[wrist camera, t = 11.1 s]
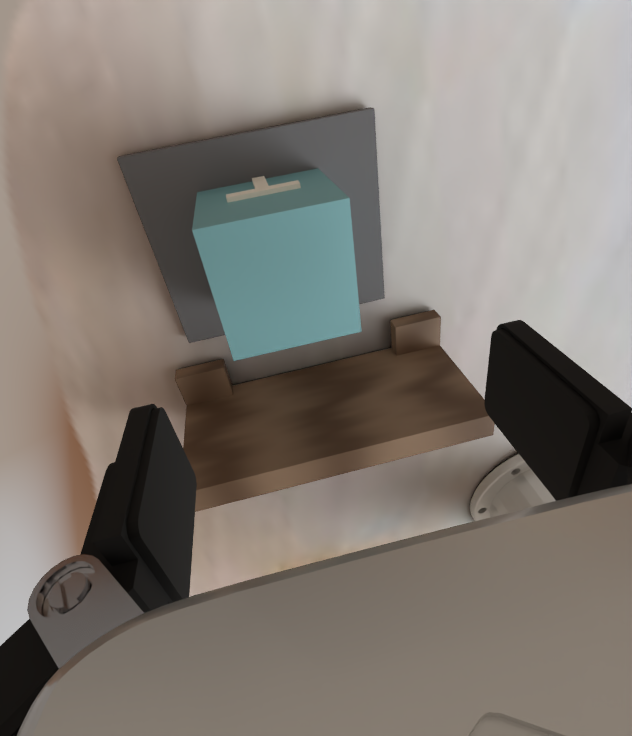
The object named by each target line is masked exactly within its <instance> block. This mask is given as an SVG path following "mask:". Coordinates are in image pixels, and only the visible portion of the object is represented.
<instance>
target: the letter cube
mask: <svg viewBox="0 0 632 736" xmlns="http://www.w3.org/2000/svg"><path fill="white" fill-rule="evenodd" d="M192 232H193V235H194V238H195V241H196V244H197V247H198V250H199V254H200V257H201V260H202V263H203V266H204V269H205V272H206V276H207V279H208V282H209V285H210V288H211V291H212V294H213V298H214V301H215V304H216V307H217V310H218V313H219V316H220V320H221V323H222V326H223V329H224V332H225V335H226V338H227V341H228V345H229V348H230V351H231V354H232V357H233V360H234V361H236V360H240V359H245V358H249V357H253V356H258V355H262V354H266V353H271V352H275V351H280V350H284V349H288V348H293V347H297V346H301V345H306V344H310V343H314V342H319V341H323V340H328V339H332V338H336V337H341V336H345V335H349V334H354V333H358V332H361V321H360V309H359V298H358V287H357V276H356V265H355V254H354V242H353V231H352V220H351V209H350V198H349V197H348V196H347V195H346V194H345V193H344V192H343V191H342V190H341V189H339V188H338V187H337V186H336V185H335V184H334V183H333V182H332V181H331V180H330V179H329V178H328V177H327V176H326V175H325V174H324V173H323V172H321V171H320V170H319V169H318V168H317V169H312V170H307V171H302V172H297V173H292V174H287V175H282V176H277V177H272V178H267V179H265V177H264V176H261V177H255V178H252V181H251V182H246V183H241V184H236V185H231V186H226V187H221V188H216V189H211V190H206V191H201V192H197V197H196V204H195V212H194V219H193V227H192Z"/></svg>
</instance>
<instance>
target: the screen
mask: <svg viewBox="0 0 632 736" xmlns="http://www.w3.org/2000/svg"><path fill="white" fill-rule="evenodd" d="M390 323H391V345H392V348H389V349H384V350H380V351H376V352H372V353H368V354H363V355H359V356H355V357H351V358H347V359H342V360H338V361H334V362H330V363H326V364H321V365H317V366H313V367H309V368H304V369H300V370H296V371H292V372H288V373H283V374H279V375H275V376H271V377H267V378H262V379H258V380H254V381H250V382H246V383H241V384H237V385H233V386H232V383H231V380H230V377H229V374H228V371H227V368H226V365H225V362H224V359H221V360H216V361H212V362H208V363H204V364H199V365H195V366H191V367H186V368H182V369H178V370H176V375H175V381H176V383H177V385H178V387H179V390H180V392H181V394H182V396H183V399H184V401H185V403H186V405H187V409H186V422H185V434H184V447H183V450H184V452H185V454H186V456H187V458H188V460H189V462H190V464H191V466H192V469H193V471H194V473H195V476H196V482H197V488H196V503H195V512H196V511H200V510H204V509H208V508H212V507H216V506H220V505H223V504H227V503H231V502H235V501H239V500H243V499H247V498H251V497H254V496H258V495H262V494H266V493H270V492H274V491H278V490H282V489H285V488H289V487H293V486H297V485H301V484H305V483H309V482H313V481H316V480H320V479H324V478H328V477H332V476H336V475H340V474H344V473H347V472H351V471H355V470H359V469H363V468H367V467H371V466H375V465H378V464H382V463H386V462H390V461H394V460H398V459H402V458H406V457H409V456H413V455H417V454H421V453H425V452H429V451H433V450H437V449H440V448H444V447H448V446H452V445H456V444H460V443H464V442H468V441H471V440H475V439H479V438H483V437H487V436H491V435H493V431H494V425H495V423H494V422H493V421H492V419H491V418H490V417H489V415H488V414H487V412H486V410H485V405H484V401H485V400H484V399H483V397H482V396H481V395H480V394H479V393H478V391H477V390H476V389H475V388H474V386H473V385H472V384H471V383H470V382H469V380H468V379H467V378H466V377H465V376H464V374H463V373H462V372H461V371H460V369H459V368H458V367H457V366H456V365H455V363H454V362H453V361H452V360H451V358H450V357H449V356H448V355H447V354H446V352H445V351H444V350H443V349H442V347H441V346H440V326H441V317H440V315H439V314H438V313H437V312H436V311H435V310H431V311H427V312H423V313H418V314H414V315H410V316H405V317H401V318H397V319H392V320H390Z"/></svg>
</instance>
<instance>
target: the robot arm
mask: <svg viewBox="0 0 632 736" xmlns="http://www.w3.org/2000/svg"><path fill="white" fill-rule="evenodd" d="M484 405H485V410H486V412H487V414H488V415H489V417H490V418H491V419H492V421H493V422H494V423H495V424H496V426H497V427H498V428H499V429H500V431H501V432H502V433H503V434H504V436H505V437H506V438H507V439H508V441H509V442H510V443H511V445H512V446H513V447H514V448H515V450H516V451H517V452H518V453H519V454H517V455H515V456H513V457H511V458H509V459H508V460H506V461H505V462H503V463H502V464H500V465H499V466H498V467H496V468H495V469H494V470H493V471H492V472H490V473H489V474H488V475H487V476H486V477H485V478H484V480H483V481H482V482H481V483H480V484H479V486H478V487H477V489H476V490H475V492H474V495H473V497H472V499H471V504H470V512H471V515H472V517H473V519H474V522H470V523H466V524H462V525H458V526H454V527H450V528H446V529H442V530H439V531H435V532H431V533H427V534H423V535H419V536H415V537H411V538H407V539H404V540H400V541H396V542H392V543H388V544H384V545H380V546H376V547H373V548H369V549H365V550H361V551H357V552H353V553H349V554H346V555H342V556H338V557H334V558H330V559H327V560H323V561H319V562H315V563H311V564H308V565H304V566H300V567H296V568H292V569H289V570H285V571H281V572H277V573H273V574H270V575H266V576H262V577H258V578H255V579H251V580H247V581H244V582H240V583H237V584H233V585H230V586H226V587H223V588H219V589H215V590H212V591H208V592H205V593H201V594H198V595H194V596H191V597H189V589H190V575H191V561H192V546H193V532H194V517H195V503H196V488H197V482H196V476H195V473H194V471H193V469H192V466H191V464H190V462H189V460H188V458H187V456H186V454H185V452H184V450H183V448H182V445H181V443H180V441H179V439H178V437H177V435H176V433H175V431H174V429H173V427H172V424H171V422H170V420H169V418H168V416H167V414H166V412H165V410H164V409H163V408H162V407H161V408H157V407H156V406H155V405H154V404H150V405H146V406H141V407H137V408H133V409H131V410H130V413H129V416H128V420H127V423H126V427H125V430H124V434H123V437H122V441H121V444H120V447H119V451H118V454H117V458H116V461H115V462H114V463H111V464H110V465H109V466H108V468H107V470H106V473H105V476H104V479H103V482H102V486H101V489H100V492H99V496H98V499H97V502H96V505H95V509H94V512H93V515H92V518H91V522H90V525H89V529H88V532H87V535H86V538H85V541H84V545H83V548H82V551H81V554H80V555H76V556H73V557H70V558H68V559H66V560H64V561H62V562H60V563H59V564H58V565H56V566H54V567H53V568H51V569H50V570H49V571H48V572H47V573H46V574H45V575H44V576H43V577H42V578H41V580H40V581H39V582H38V584H37V585H36V586H35V588H34V590H33V592H32V594H31V596H30V598H29V603H28V609H27V610H28V614H29V618H30V619H29V620H28V621H27V622H26V623H24V624H23V625H22V626H21V627H20V628H19V629H18V630H17V631H16V632H15V633H14V634H13V635H12V636H11V637H10V638H9V639H7V640H6V641H5V642H4V643H3V644H2V645H1V646H0V736H632V413H631V411H632V408H631V407H630V406H628V405H627V404H626V403H625V402H623V401H622V400H621V399H620V398H618V397H617V396H616V395H615V394H613V393H612V392H611V391H610V390H608V389H607V388H606V387H605V386H603V385H602V384H601V383H600V382H598V381H597V380H596V379H595V378H593V377H592V376H591V375H590V374H588V373H587V372H586V371H585V370H583V369H582V368H581V367H580V366H578V365H577V364H576V363H575V362H573V361H572V360H571V359H570V358H568V357H567V356H566V355H565V354H563V353H562V352H561V351H560V350H558V349H557V348H556V347H555V346H553V345H552V344H551V343H550V342H548V341H547V340H546V339H545V338H543V337H542V336H541V335H540V334H538V333H537V332H536V331H535V330H533V329H532V328H531V327H530V326H528V325H527V324H526V323H525V322H523V321H521V320H517V321H513V322H508V323H504V324H500V325H499V326H498V327H497V330H496V331H494V332H493V333H492V336H491V345H490V354H489V364H488V373H487V382H486V392H485V401H484Z"/></svg>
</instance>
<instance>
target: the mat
mask: <svg viewBox="0 0 632 736" xmlns="http://www.w3.org/2000/svg"><path fill="white" fill-rule="evenodd" d="M117 160H118V162H119V165H120V168H121V170H122V173H123V175H124V178H125V180H126V183H127V185H128V188H129V191H130V193H131V196H132V198H133V201H134V203H135V206H136V208H137V211H138V214H139V216H140V219H141V221H142V224H143V226H144V229H145V231H146V234H147V237H148V239H149V242H150V244H151V247H152V249H153V252H154V255H155V257H156V260H157V262H158V265H159V267H160V270H161V272H162V275H163V278H164V280H165V283H166V285H167V288H168V290H169V293H170V295H171V298H172V301H173V303H174V306H175V308H176V311H177V313H178V316H179V318H180V321H181V324H182V326H183V329H184V331H185V334H186V336H187V339H188V341H189V343H191V342H196V341H200V340H204V339H209V338H213V337H218V336H222V335H225V332H224V329H223V326H222V323H221V320H220V316H219V313H218V310H217V307H216V304H215V301H214V298H213V294H212V291H211V288H210V285H209V282H208V279H207V276H206V272H205V269H204V266H203V263H202V260H201V257H200V254H199V250H198V247H197V244H196V241H195V238H194V235H193V232H192V227H193V219H194V212H195V204H196V197H197V192H201V191H206V190H211V189H216V188H221V187H226V186H231V185H236V184H241V183H246V182H251V181H252V178H255V177H261V176H264V177H265V179H267V178H272V177H277V176H282V175H287V174H292V173H297V172H302V171H307V170H312V169H317V168H318V169H319V170H320V171H321V172H323V173H324V174H325V175H326V176H327V177H328V178H329V179H330V180H331V181H332V182H333V183H334V184H335V185H336V186H337V187H338V188H339V189H341V190H342V191H343V192H344V193H345V194H346V195H347V196H348V197H349V198H350V209H351V220H352V231H353V242H354V254H355V265H356V276H357V287H358V298H359V304H362V303H366V302H371V301H375V300H379V299H384V280H383V261H382V243H381V224H380V206H379V187H378V169H377V150H376V132H375V113H374V108H371V107H370V108H365V109H360V110H355V111H350V112H345V113H339V114H334V115H329V116H324V117H319V118H314V119H309V120H303V121H298V122H293V123H288V124H283V125H278V126H273V127H267V128H262V129H257V130H252V131H247V132H242V133H237V134H231V135H226V136H221V137H216V138H211V139H206V140H201V141H195V142H190V143H185V144H180V145H175V146H170V147H164V148H159V149H154V150H149V151H144V152H139V153H134V154H128V155H123V156H119V157H118V158H117Z"/></svg>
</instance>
